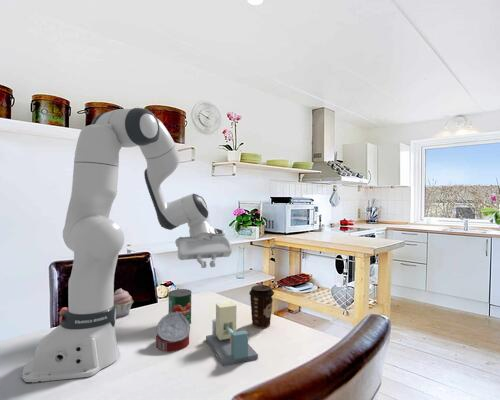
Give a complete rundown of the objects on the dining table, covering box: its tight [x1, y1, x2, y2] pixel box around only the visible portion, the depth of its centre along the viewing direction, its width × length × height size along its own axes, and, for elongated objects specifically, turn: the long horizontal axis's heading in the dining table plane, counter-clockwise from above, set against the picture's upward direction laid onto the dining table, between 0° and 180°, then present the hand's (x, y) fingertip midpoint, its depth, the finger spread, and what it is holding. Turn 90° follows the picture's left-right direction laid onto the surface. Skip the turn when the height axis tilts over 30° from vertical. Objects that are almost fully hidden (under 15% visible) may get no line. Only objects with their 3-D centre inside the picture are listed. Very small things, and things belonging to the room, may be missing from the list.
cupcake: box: [114, 287, 134, 318], centre depth 121 cm, size 9×9×10 cm
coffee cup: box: [248, 284, 275, 329], centre depth 112 cm, size 9×8×13 cm
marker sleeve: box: [215, 301, 237, 340], centre depth 98 cm, size 5×4×10 cm
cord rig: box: [205, 318, 259, 367], centre depth 94 cm, size 10×17×8 cm, turn 23°
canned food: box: [155, 312, 191, 353], centre depth 97 cm, size 11×10×10 cm
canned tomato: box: [168, 288, 192, 326], centre depth 113 cm, size 8×8×11 cm
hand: (208, 266), depth 115 cm, fingers closed
